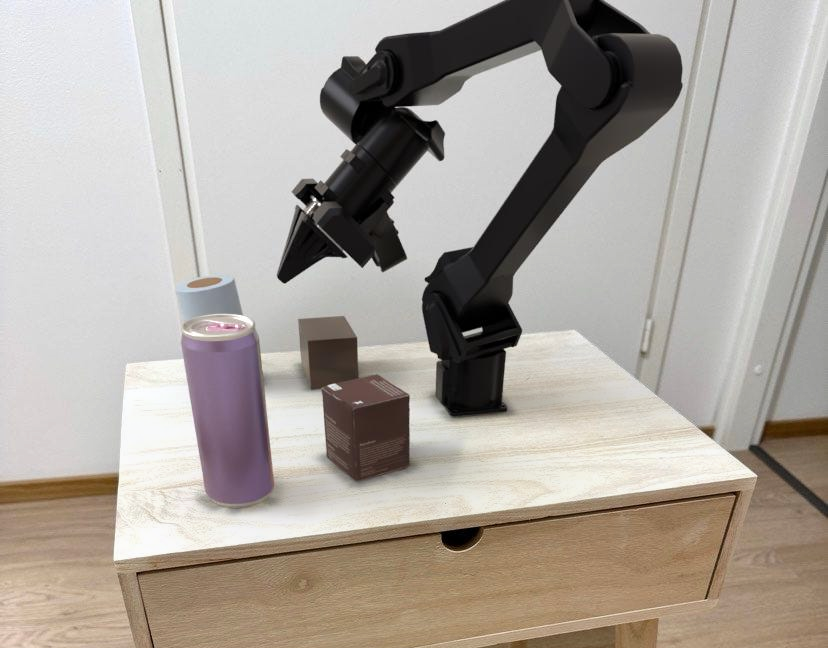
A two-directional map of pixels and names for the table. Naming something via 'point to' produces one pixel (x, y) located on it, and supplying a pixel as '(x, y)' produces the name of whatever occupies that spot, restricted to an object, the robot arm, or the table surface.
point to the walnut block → (328, 350)
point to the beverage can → (228, 407)
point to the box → (367, 426)
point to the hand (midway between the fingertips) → (280, 280)
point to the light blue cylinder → (208, 296)
